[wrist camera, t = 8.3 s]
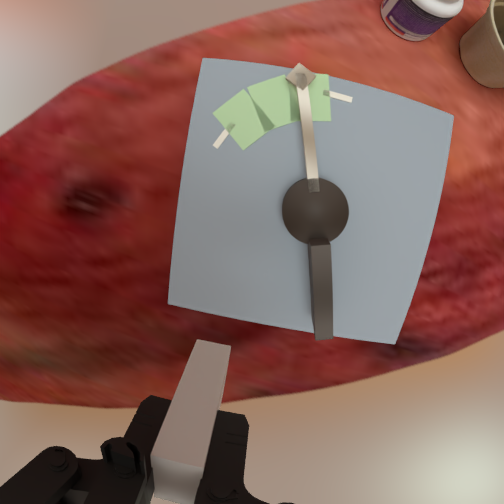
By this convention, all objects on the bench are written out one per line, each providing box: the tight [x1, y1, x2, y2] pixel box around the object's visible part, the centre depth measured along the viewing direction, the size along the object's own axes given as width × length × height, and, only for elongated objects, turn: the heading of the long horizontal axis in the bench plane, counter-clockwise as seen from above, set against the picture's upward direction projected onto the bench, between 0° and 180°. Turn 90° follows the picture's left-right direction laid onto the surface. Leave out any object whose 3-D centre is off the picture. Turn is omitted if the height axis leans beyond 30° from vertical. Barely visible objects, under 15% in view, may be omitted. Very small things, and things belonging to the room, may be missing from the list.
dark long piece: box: [282, 63, 349, 340], centre depth 23 cm, size 21×5×4 cm, turn 6°
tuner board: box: [168, 58, 454, 344], centre depth 26 cm, size 22×22×2 cm
